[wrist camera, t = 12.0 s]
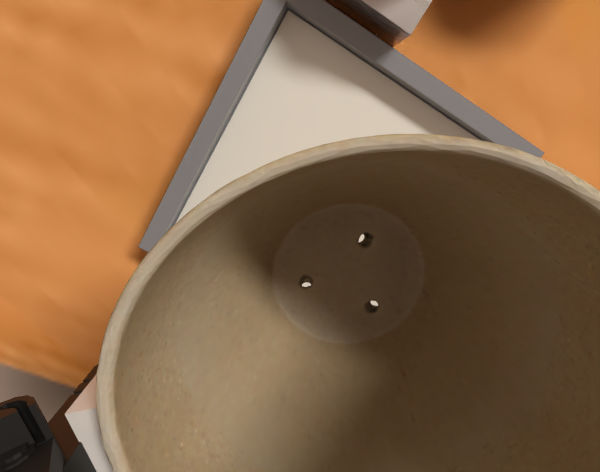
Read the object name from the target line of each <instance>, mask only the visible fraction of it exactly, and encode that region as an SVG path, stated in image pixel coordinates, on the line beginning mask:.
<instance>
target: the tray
mask: <svg viewBox="0 0 600 472" xmlns="http://www.w3.org/2000/svg"><path fill="white" fill-rule="evenodd" d="M388 134H431V135H445V136H456V137H463V138H469V139H475V140H481V141H486V142H491V143H495V144H500V145H504V146H508V147H512V148H515V149H518V150H521V151H524V152H526V153H529V154H531V155H534V156H536V157H539V158H541V157H542V155H543V154H544V152H543V151H541V150H540V149H538V148H537V147H536V146H534V145H533V144H531V143H530V142H528V141H527V140H525V139H524V138H523V137H521V136H520V135H518V134H517V133H515V132H514V131H512V130H511V129H510V128H508V127H507V126H505V125H504V124H502V123H501V122H499V121H498V120H496V119H495V118H494V117H492V116H491V115H489V114H488V113H486V112H485V111H483V110H482V109H481V108H479V107H478V106H476V105H475V104H473V103H472V102H470V101H469V100H468V99H466V98H465V97H463V96H462V95H460V94H459V93H457V92H456V91H455V90H453V89H452V88H450V87H449V86H447V85H446V84H444V83H443V82H442V81H440V80H439V79H437V78H436V77H434V76H433V75H431V74H430V73H429V72H427V71H426V70H424V69H423V68H421V67H420V66H418V65H417V64H416V63H414V62H413V61H411V60H410V59H408V58H407V57H405V56H404V55H403V54H401V53H400V52H398V51H397V50H395V49H394V48H392V47H391V46H389V45H388V44H387V43H385V42H384V41H382V40H381V39H379V38H378V37H376V36H375V35H374V34H372V33H371V32H369V31H368V30H366V29H365V28H363V27H362V26H361V25H359V24H358V23H356V22H355V21H353V20H352V19H350V18H349V17H348V16H346V15H345V14H343V13H342V12H340V11H339V10H337V9H336V8H335V7H333V6H332V5H330V4H329V3H327V2H326V1H324V0H263V2H262V4H261V6H260V8H259V10H258V12H257V14H256V16H255V17H254V19H253V21H252V23H251V25H250V27H249V29H248V31H247V33H246V35H245V37H244V39H243V41H242V43H241V45H240V47H239V49H238V51H237V53H236V55H235V57H234V59H233V61H232V63H231V65H230V67H229V69H228V71H227V73H226V75H225V77H224V79H223V81H222V83H221V85H220V87H219V89H218V90H217V92H216V94H215V96H214V98H213V100H212V102H211V104H210V106H209V108H208V110H207V112H206V114H205V116H204V118H203V120H202V122H201V124H200V126H199V128H198V130H197V132H196V134H195V136H194V138H193V140H192V142H191V144H190V146H189V148H188V150H187V152H186V154H185V156H184V158H183V160H182V162H181V163H180V165H179V167H178V169H177V171H176V173H175V175H174V177H173V179H172V181H171V183H170V185H169V187H168V189H167V191H166V193H165V195H164V197H163V199H162V201H161V203H160V205H159V207H158V209H157V211H156V213H155V215H154V217H153V219H152V221H151V223H150V225H149V227H148V229H147V231H146V233H145V235H144V236H143V238H142V240H141V242H140V244H139V246H138V247H140V248H141V249H143V250H145V251H147V252H149V251H150V250H151V249H152V247H153V246H154V245H155V244H156V243H157V242H158V241H159V240H160V239H161V238H162V237H163V236H164V234H165V233H166V232H167V231H168V230H169V229H170V228H171V227H172V226H174V225H175V224H176V223H177V222H178V221H179V220H180V219H181V218H182V217H183V216H185V215H186V214H187V213H188V212H189V211H190V210H192V209H193V208H194V207H196V206H197V205H198V204H200V203H201V202H202V201H203V200H205V199H206V198H207V197H209V196H210V195H211V194H213V193H214V192H215V191H217V190H218V189H220V188H221V187H223V186H225V185H226V184H228V183H230V182H231V181H233V180H235V179H237V178H239V177H241V176H243V175H245V174H247V173H249V172H251V171H253V170H255V169H257V168H259V167H261V166H263V165H266V164H268V163H270V162H273V161H275V160H278V159H280V158H282V157H285V156H288V155H291V154H293V153H296V152H299V151H302V150H306V149H309V148H313V147H316V146H320V145H323V144H328V143H333V142H337V141H342V140H347V139H352V138H360V137H368V136H376V135H388ZM363 239H364V234H362V235H361V236H360V238H359V242H361V241H363ZM302 286H303V287H308V286H311V284H310V283H308V282H305V283H303V284H302ZM371 304H372V305H375V306H378V303H377V302H376V301H373V300H372V301H371Z"/></svg>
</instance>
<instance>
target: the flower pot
mask: <svg viewBox="0 0 600 472" xmlns="http://www.w3.org/2000/svg"><path fill="white" fill-rule="evenodd" d="M362 234H364V239H363V241H361V242H359V238H360V236H361V235H362ZM305 282H308V283H310V284H311V286H308V287H303V286H302V284H303V283H305ZM372 300H373V301H376V302H377V303H378V306H375V305H372V304H371V301H372ZM96 404H97V414H98V423H99V427H100V433H101V439H102V443H103V447H104V450H105V453H106V456H107V458H108V461H109V463H110V465H111V468H112V470H113V472H600V191H599V190H597V189H596V188H595V187H593V186H592V185H590V184H589V183H587V182H585V181H584V180H582V179H580V178H579V177H577V176H575V175H574V174H572V173H570V172H568V171H567V170H565V169H563V168H561V167H559V166H557V165H555V164H553V163H550V162H548V161H546V160H544V159H541V158H539V157H536V156H534V155H531V154H529V153H526V152H524V151H521V150H518V149H515V148H512V147H508V146H504V145H500V144H495V143H491V142H486V141H481V140H475V139H469V138H463V137H456V136H445V135H431V134H388V135H376V136H368V137H360V138H352V139H347V140H342V141H337V142H333V143H328V144H323V145H320V146H316V147H313V148H309V149H306V150H302V151H299V152H296V153H293V154H291V155H288V156H285V157H282V158H280V159H278V160H275V161H273V162H270V163H268V164H266V165H263V166H261V167H259V168H257V169H255V170H253V171H251V172H249V173H247V174H245V175H243V176H241V177H239V178H237V179H235V180H233V181H231V182H230V183H228V184H226V185H225V186H223V187H221V188H220V189H218V190H217V191H215V192H214V193H213V194H211V195H210V196H209V197H207V198H206V199H205V200H203V201H202V202H201V203H200V204H198V205H197V206H196V207H194V208H193V209H192V210H190V211H189V212H188V213H187V214H186V215H185V216H183V217H182V218H181V219H180V220H179V221H178V222H177V223H176V224H175V225H174V226H172V227H171V228H170V229H169V230H168V231H167V232H166V233H165V234H164V236H163V237H162V238H161V239H160V240H159V241H158V242H157V243H156V244H155V245H154V246H153V247H152V249H151V250H150V251H149V252H148V253H147V255H146V256H145V257H144V259H143V260H142V261H141V263H140V264H139V265H138V267H137V268H136V270H135V272H134V273H133V275H132V276H131V278H130V279H129V281H128V282H127V284H126V286H125V288H124V290H123V292H122V294H121V296H120V298H119V300H118V302H117V304H116V306H115V308H114V310H113V312H112V314H111V317H110V320H109V322H108V325H107V328H106V332H105V335H104V339H103V344H102V348H101V353H100V358H99V364H98V369H97V377H96Z"/></svg>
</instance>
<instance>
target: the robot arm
mask: <svg viewBox="0 0 600 472" xmlns="http://www.w3.org/2000/svg"><path fill="white" fill-rule="evenodd" d="M97 369H98V365H96V366H95V367H94V368H93V369H92V371H91V372H90V373H89V374H88V375H87V377H86V378H85V379H84V380H83V383H81V384H80V385H79V386H78V387H77V389H76V390H75V391H74V395H71V396H70V397H69V398H68V399H67V401H66V402H65V403H64V405H63V406H62V407H61V408H60V409H59V410H58V412H57V413H56V414H55V415H54V417H53V418H52V419H51V420H50V421H49V422H48V423H47V421H46V419H45V417H44V415H43V414H42V412H41V410H40V408H39V406H38V404H37V403H36V401H35V399H34V397H30V396H21V397H15V398H12V399H10V400H7V401H4V402H2V403H0V472H113V470H112V468H111V465H110V463H109V461H108V458H107V456H106V453H105V450H104V447H103V443H102V439H101V433H100V427H99V423H98V414H97V404H96V377H97Z"/></svg>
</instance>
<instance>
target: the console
mask: <svg viewBox="0 0 600 472" xmlns="http://www.w3.org/2000/svg"><path fill="white" fill-rule="evenodd" d="M327 1H328V2H330V3H331V4H333V5H334V6H336V7H337V8H338V9H340V10H341V11H343V12H344V13H346V14H347V15H349V16H350V17H351V18H353V19H354V20H356V21H357V22H359V23H360V24H362V25H363V26H364V27H366V28H367V29H369V30H370V31H372V32H373V33H375V34H376V35H377V36H379V37H380V38H382V39H383V40H385V41H386V42H388V43H389V44H390V45H392V46H393V47H394V46H395V45H397V44H398V43H399V42H401V41H402V40H404V39H405V38H407V37H408V36H410V35H411V34H412V32H413V30H414V29H415V27H416V26H417V24H418V22H419V21H420V19H421V18H422V16H423V14H424V13H425V11H426V10H427V8H428V6H429V5H430V3H431V2H432V0H327Z"/></svg>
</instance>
